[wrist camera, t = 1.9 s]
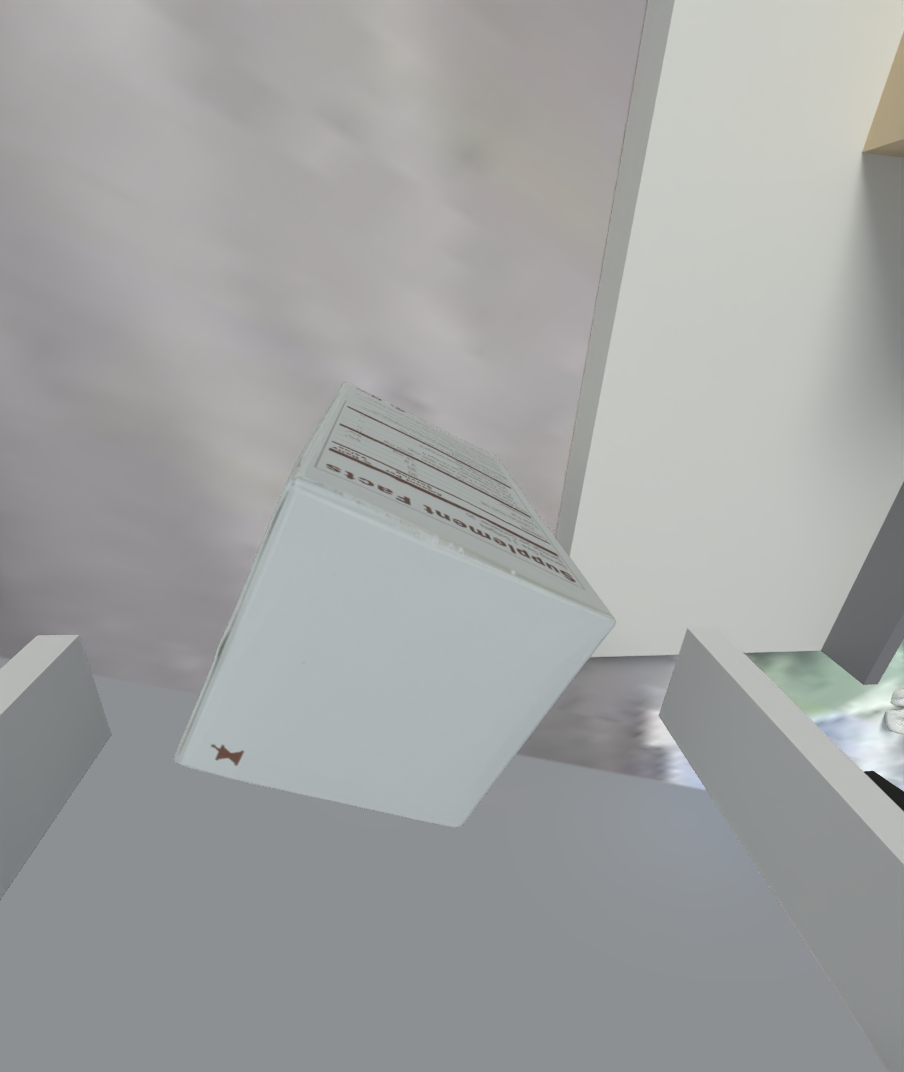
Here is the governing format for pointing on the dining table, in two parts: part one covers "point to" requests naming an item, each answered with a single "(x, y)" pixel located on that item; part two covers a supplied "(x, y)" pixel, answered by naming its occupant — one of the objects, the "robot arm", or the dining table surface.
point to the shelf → (749, 342)
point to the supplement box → (393, 625)
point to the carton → (889, 113)
